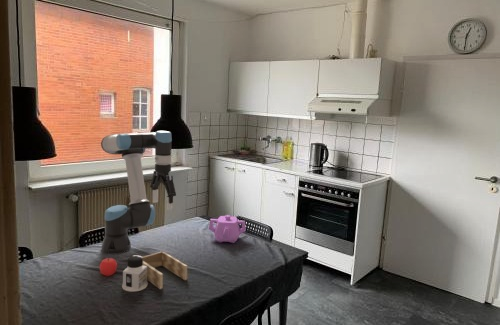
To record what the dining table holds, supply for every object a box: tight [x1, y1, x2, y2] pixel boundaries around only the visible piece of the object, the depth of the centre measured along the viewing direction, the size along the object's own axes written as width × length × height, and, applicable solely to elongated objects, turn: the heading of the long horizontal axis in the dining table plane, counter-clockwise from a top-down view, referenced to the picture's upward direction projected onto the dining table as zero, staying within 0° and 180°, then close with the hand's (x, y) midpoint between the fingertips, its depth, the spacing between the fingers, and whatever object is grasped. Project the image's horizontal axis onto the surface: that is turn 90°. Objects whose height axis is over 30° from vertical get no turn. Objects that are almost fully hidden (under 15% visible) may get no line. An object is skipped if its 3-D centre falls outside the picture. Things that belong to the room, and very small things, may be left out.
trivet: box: [121, 281, 149, 293], centre depth 170 cm, size 11×11×1 cm
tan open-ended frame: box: [141, 250, 188, 290], centre depth 180 cm, size 21×14×7 cm
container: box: [122, 254, 148, 289], centre depth 169 cm, size 8×8×13 cm
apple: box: [99, 257, 118, 277], centre depth 179 cm, size 8×8×8 cm
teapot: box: [208, 214, 246, 244], centre depth 228 cm, size 19×18×15 cm
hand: (162, 205), depth 186 cm, fingers open, 13 cm apart
